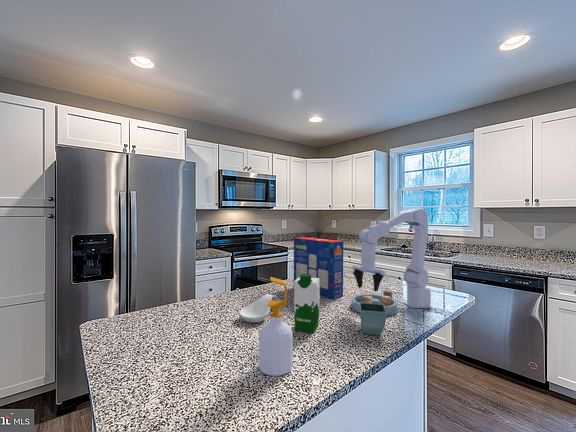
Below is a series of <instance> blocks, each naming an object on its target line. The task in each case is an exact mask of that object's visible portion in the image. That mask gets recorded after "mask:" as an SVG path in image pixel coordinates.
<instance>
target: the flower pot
mask: <svg viewBox="0 0 576 432" xmlns="http://www.w3.org/2000/svg"><path fill="white" fill-rule="evenodd" d="M359 305H360V313H359V316H360V325H361V328H362V330H363V332H364V334H365V335H375V336H380V335H381V334H382V333H383V331H384V329H385V326H386V321H387V316H386V315H387V311H386V309H385V306H384V305H383V304H370V303H359Z"/></svg>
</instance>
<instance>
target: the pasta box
mask: <svg viewBox="0 0 576 432" xmlns="http://www.w3.org/2000/svg"><path fill="white" fill-rule="evenodd" d="M301 274H310V275H311V278H319V287H320V290H319V294H320V295H319V297H322V298H326V299H329V300H337V299H340V298H343V297H344V240H337V239H327V238H318V237H317V238H316V237H306V236H303V237H301V236H300V237H293V282H294V281H295V280H296V279H297V278H299V277H300V275H301Z"/></svg>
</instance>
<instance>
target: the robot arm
mask: <svg viewBox="0 0 576 432" xmlns="http://www.w3.org/2000/svg"><path fill="white" fill-rule="evenodd" d="M428 220H429V214H428V213H427V211H426V210H425V209H424V208H405V209H403V210H401V211H399V212H398V213H397V214H395V215H394V216H393V217H391V218H389V219H388V220H386V221H385V220H379V221H377V222H376V224H374V225H372V226H369V227H368V229H365V228H364V229H362V230H361V231H360V233H359V235H358V240H359V241H360V246H361V248H360V249H361V253H360V255H361V257H360V259H361V260H360V261H361V265H356V264H355V265H352V266H351V267H352V268H351V269H352V274H353V275H354V279H355V280H356V284H357V288H358V289H360V288H362V287H363V277H364V273H370V274H372V279H373V280H372V281H373V292H378V291H379V288H380V284H381V282H382V280H383V278H384V276H385V275H386V270H385V269H381V268H378V267H376V243H377V242H378V240H379V239H380V238H381V237H384V236H386V235H387V234H389V233H390V231H391V229H392V228H394V227H396V226H398V225H400V224H401V223H406V224H407V225H409V226H410V227H412V229H413V230H414V233H413V234H414V235H413V243H412V249H411V258H410V263H409V264H408V265H407V266H406V268H405V271H404V274H403V280H404V282H405V283H406V285H407V286H406V301H405V300H404V301H403V303H404V304H405V305H406V306H407V307H409V308H411V309H431V308H432V305H431V304H432V303H431V301H432V297H431V296H432V294H431V293H432V292H431V289H430V287H429V286H428V284H429V280H430V279H429V276H428V274H429V271H428V270H427V268H426V267H425V266H424V265H425V258H426V257H425V256H426V248H427V243H428V242H427V240H428V233H429V224H428Z"/></svg>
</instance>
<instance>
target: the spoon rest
mask: <svg viewBox="0 0 576 432" xmlns="http://www.w3.org/2000/svg"><path fill="white" fill-rule="evenodd" d="M268 301H281V299H280V298H279V297H278V296H277V295H275V294H271V293H269V294H267V293H266V294H264V295H263V296H261V297H260V298H258V299H256V300H255V301H254V302H253V301H252V303H250V304H248V305H246V306H244V307H243V308H241V309H240V310H239V312H238V313H239V316H240V318H242V319H243V320H244V321H245V322H246V323H247V322H248V323H253V324H256V323H261V322H263V321H264V320H266V319H267V318H268V316H269V315H270V313H271V312H270V311H271V307H268Z"/></svg>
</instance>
